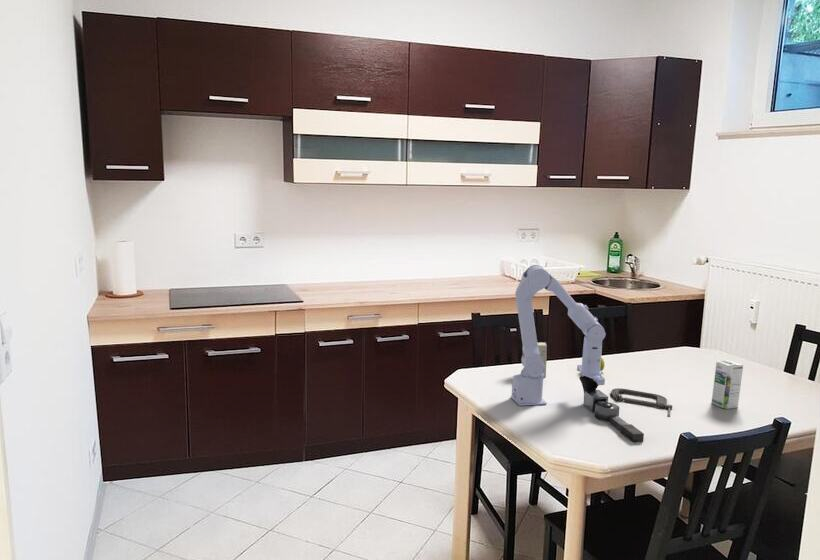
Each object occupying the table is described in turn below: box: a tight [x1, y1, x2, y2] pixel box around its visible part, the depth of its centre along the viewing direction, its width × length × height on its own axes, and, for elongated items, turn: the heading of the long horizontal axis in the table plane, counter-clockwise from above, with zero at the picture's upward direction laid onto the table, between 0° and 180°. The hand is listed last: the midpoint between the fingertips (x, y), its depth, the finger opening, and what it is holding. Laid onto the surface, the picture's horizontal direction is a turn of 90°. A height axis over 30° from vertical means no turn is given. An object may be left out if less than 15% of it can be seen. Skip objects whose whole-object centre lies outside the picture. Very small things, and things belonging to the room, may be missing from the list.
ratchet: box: [593, 399, 645, 443], centre depth 175 cm, size 25×7×4 cm, turn 11°
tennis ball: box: [600, 356, 605, 372], centre depth 221 cm, size 7×7×7 cm
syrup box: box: [710, 359, 744, 410], centre depth 190 cm, size 6×6×14 cm
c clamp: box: [610, 387, 673, 418], centre depth 193 cm, size 20×17×3 cm
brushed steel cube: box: [582, 389, 609, 414], centre depth 186 cm, size 6×5×5 cm
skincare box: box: [537, 341, 548, 378], centre depth 216 cm, size 6×4×12 cm
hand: (588, 399), depth 190 cm, fingers closed
